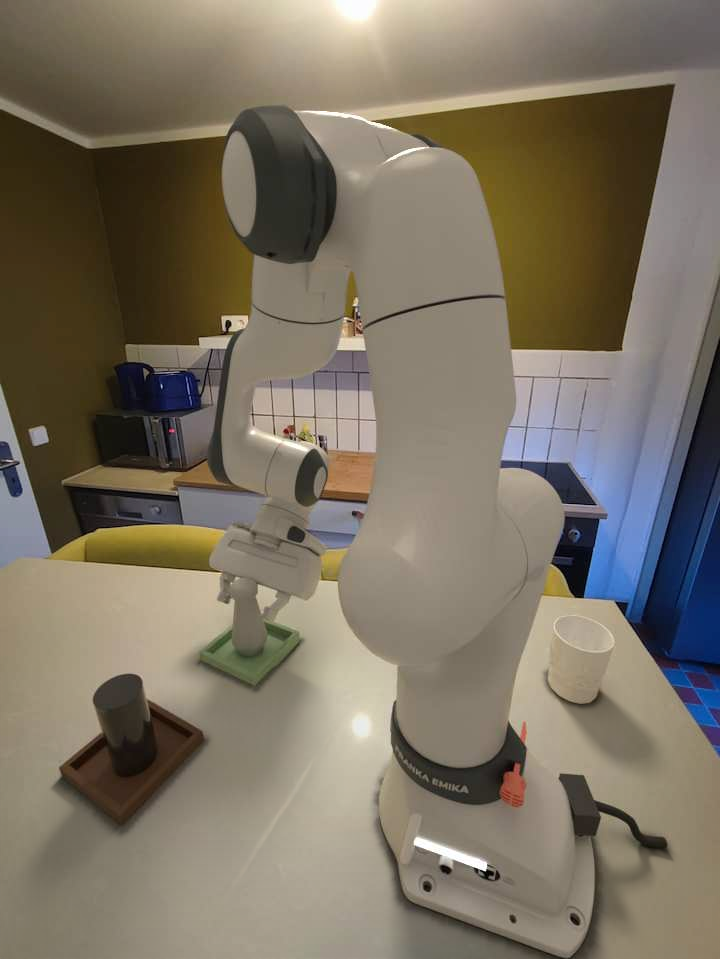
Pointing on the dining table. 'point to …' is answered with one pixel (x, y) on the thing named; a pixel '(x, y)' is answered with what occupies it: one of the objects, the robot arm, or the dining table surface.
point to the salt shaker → (247, 618)
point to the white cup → (578, 657)
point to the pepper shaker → (126, 724)
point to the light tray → (256, 666)
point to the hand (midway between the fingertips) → (244, 611)
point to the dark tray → (130, 793)
